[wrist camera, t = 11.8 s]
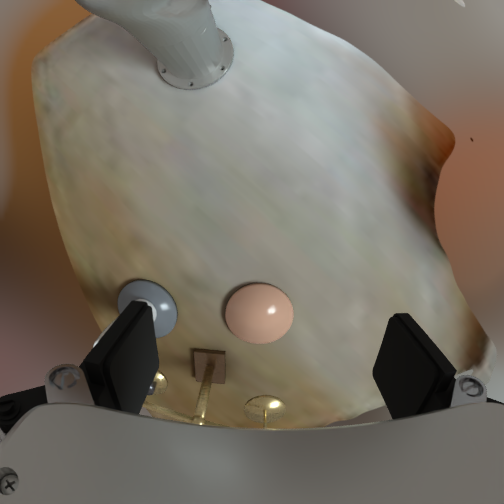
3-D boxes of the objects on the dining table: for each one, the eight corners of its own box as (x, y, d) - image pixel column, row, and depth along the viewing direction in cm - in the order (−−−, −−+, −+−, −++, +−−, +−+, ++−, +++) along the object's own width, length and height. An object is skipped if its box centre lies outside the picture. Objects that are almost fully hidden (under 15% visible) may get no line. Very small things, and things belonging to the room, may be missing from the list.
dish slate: (116, 276, 49) (114, 278, 48) (175, 282, 49) (174, 284, 48) (124, 330, 53) (122, 333, 52) (179, 338, 53) (178, 341, 52)
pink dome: (226, 280, 49) (225, 283, 48) (296, 284, 49) (297, 287, 48) (225, 338, 52) (224, 341, 51) (288, 342, 52) (289, 344, 51)
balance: (141, 341, 53) (107, 402, 36) (283, 354, 53) (291, 424, 36) (147, 370, 56) (118, 430, 38) (278, 383, 56) (284, 451, 38)
